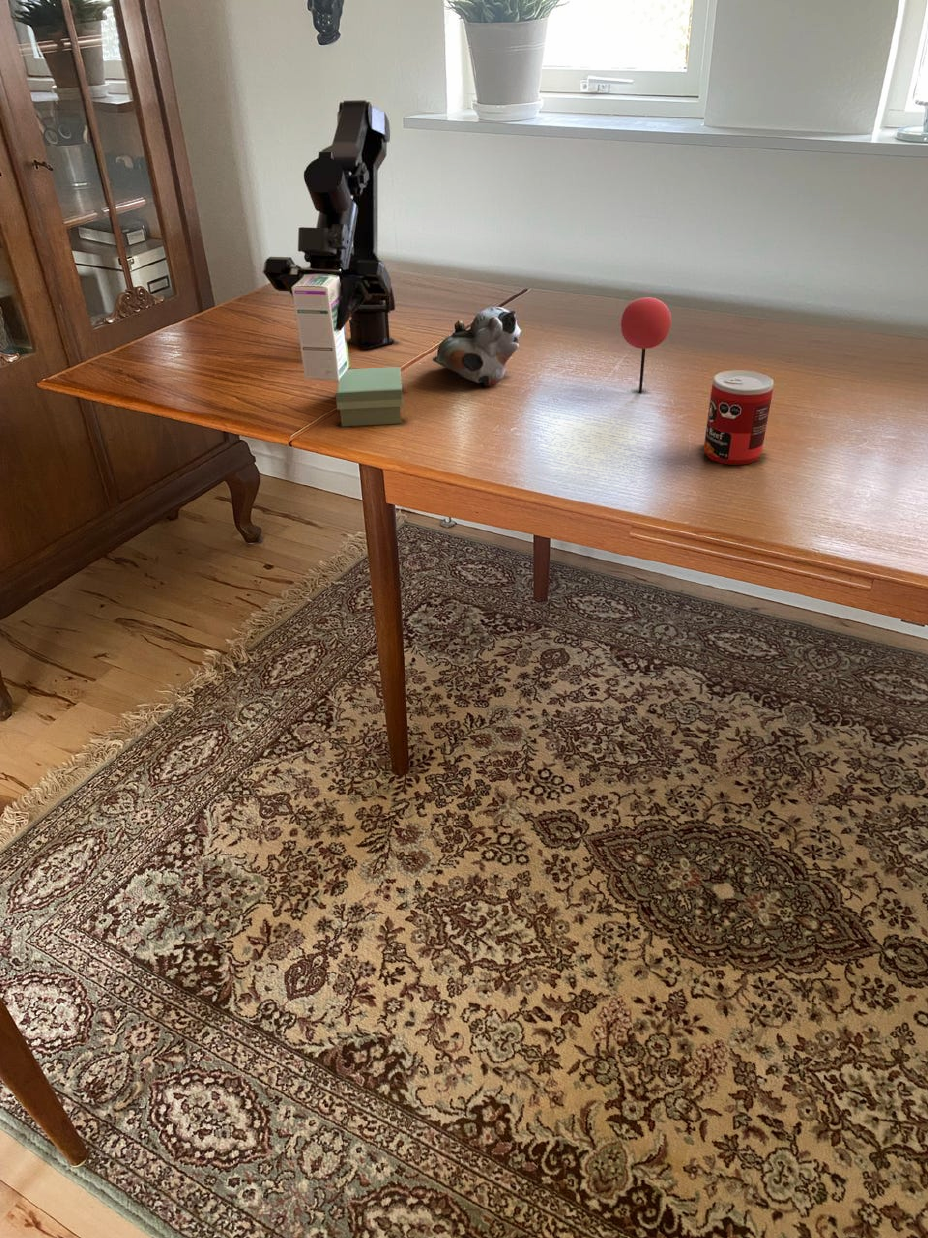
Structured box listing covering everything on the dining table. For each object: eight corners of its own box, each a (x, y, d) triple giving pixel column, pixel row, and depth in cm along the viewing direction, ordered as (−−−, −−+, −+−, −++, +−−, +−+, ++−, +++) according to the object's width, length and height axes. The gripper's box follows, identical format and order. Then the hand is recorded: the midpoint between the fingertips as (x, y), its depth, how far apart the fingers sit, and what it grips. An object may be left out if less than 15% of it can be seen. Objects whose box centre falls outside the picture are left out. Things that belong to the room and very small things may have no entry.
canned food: (696, 444, 134) (706, 370, 128) (750, 441, 134) (762, 367, 128) (712, 467, 128) (723, 391, 121) (768, 464, 128) (782, 388, 122)
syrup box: (339, 381, 142) (329, 286, 133) (303, 379, 143) (290, 284, 134) (350, 367, 146) (341, 274, 138) (314, 364, 147) (303, 272, 138)
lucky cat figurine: (442, 359, 165) (477, 285, 159) (501, 391, 164) (538, 317, 159) (421, 364, 151) (458, 282, 146) (486, 399, 150) (525, 318, 145)
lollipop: (666, 385, 153) (676, 293, 144) (659, 402, 147) (669, 307, 138) (620, 380, 155) (628, 289, 146) (611, 397, 149) (618, 303, 140)
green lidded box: (401, 389, 154) (399, 357, 150) (404, 423, 142) (402, 389, 139) (341, 392, 153) (338, 360, 150) (339, 427, 142) (335, 392, 138)
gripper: (257, 199, 135) (239, 298, 133) (379, 202, 132) (363, 304, 130) (284, 242, 146) (268, 334, 144) (398, 246, 143) (383, 340, 140)
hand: (318, 328), depth 139 cm, fingers closed on syrup box, 6 cm apart
